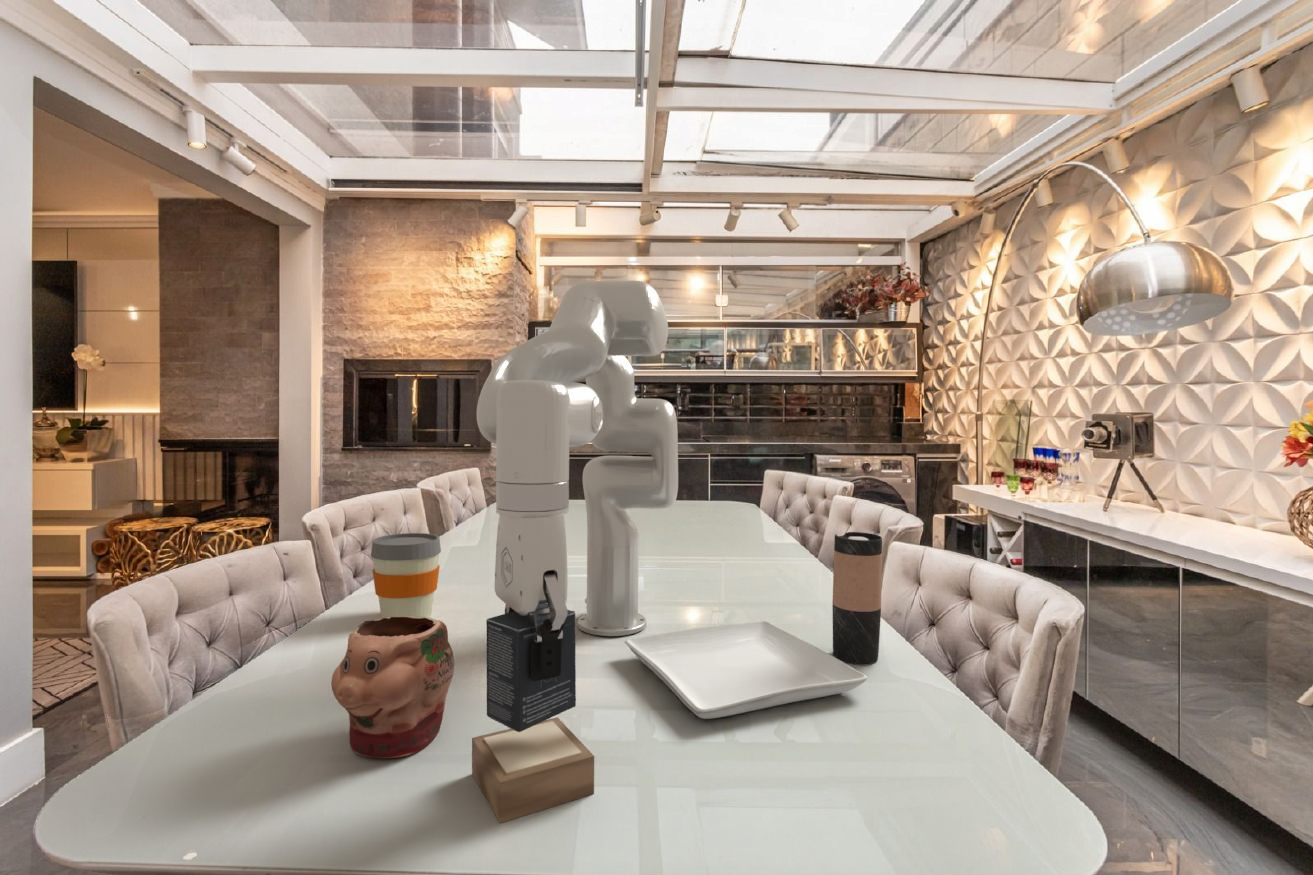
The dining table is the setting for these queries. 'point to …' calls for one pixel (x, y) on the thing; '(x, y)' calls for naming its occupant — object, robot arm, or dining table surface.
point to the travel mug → (857, 597)
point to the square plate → (742, 667)
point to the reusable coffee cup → (406, 573)
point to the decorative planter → (394, 684)
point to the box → (526, 673)
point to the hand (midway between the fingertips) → (531, 663)
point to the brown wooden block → (531, 768)
